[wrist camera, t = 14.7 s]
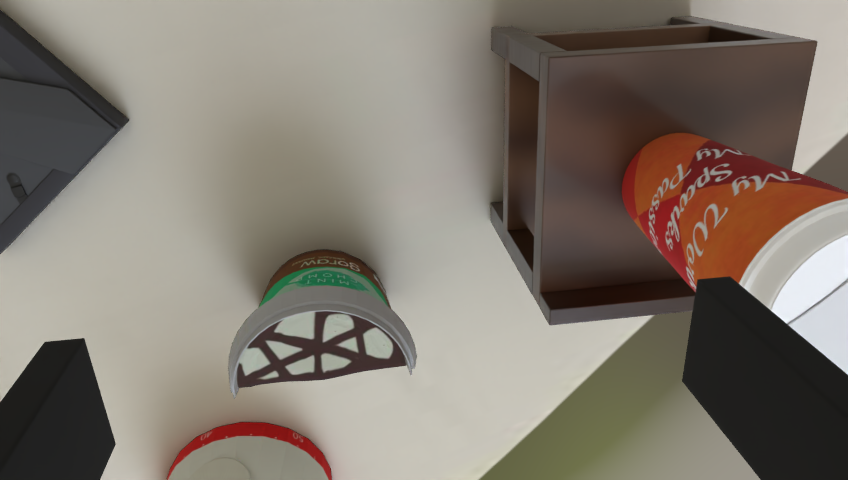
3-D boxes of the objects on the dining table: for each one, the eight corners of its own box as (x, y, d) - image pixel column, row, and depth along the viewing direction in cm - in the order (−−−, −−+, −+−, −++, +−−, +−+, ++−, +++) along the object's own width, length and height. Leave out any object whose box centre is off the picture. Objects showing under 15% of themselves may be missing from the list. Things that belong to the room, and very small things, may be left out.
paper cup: (660, 84, 33) (863, 171, 20) (767, 153, 35) (1009, 270, 23) (572, 213, 35) (705, 362, 23) (678, 270, 38) (852, 434, 25)
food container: (398, 225, 49) (412, 289, 39) (405, 298, 51) (420, 373, 42) (229, 245, 48) (204, 315, 38) (245, 317, 50) (225, 399, 41)
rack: (490, 27, 44) (561, 63, 30) (691, 16, 45) (846, 46, 31) (490, 221, 49) (549, 326, 36) (668, 206, 51) (790, 301, 37)
